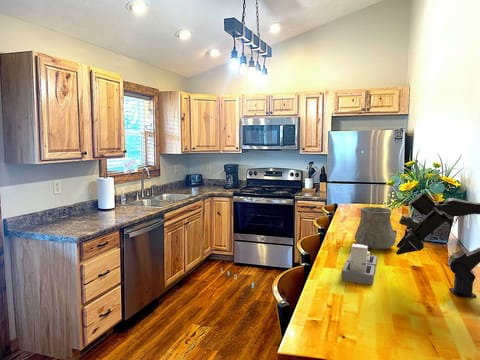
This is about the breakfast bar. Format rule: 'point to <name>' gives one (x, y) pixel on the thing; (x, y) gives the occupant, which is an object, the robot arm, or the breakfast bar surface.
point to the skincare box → (358, 258)
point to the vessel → (375, 228)
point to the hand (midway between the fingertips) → (396, 250)
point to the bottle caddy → (360, 276)
